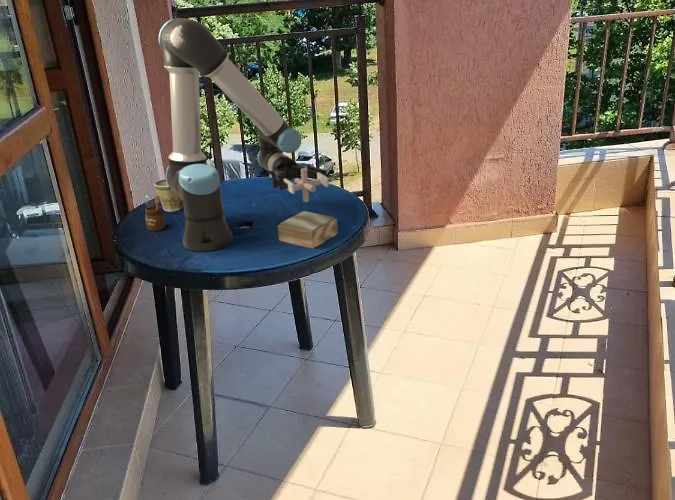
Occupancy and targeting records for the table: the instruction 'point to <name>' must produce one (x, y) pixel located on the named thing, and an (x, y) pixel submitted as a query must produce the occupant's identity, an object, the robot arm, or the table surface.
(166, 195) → the ceramic cup
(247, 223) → the table surface
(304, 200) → the pipe connector
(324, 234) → the lidded wooden box
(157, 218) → the utensil holder
